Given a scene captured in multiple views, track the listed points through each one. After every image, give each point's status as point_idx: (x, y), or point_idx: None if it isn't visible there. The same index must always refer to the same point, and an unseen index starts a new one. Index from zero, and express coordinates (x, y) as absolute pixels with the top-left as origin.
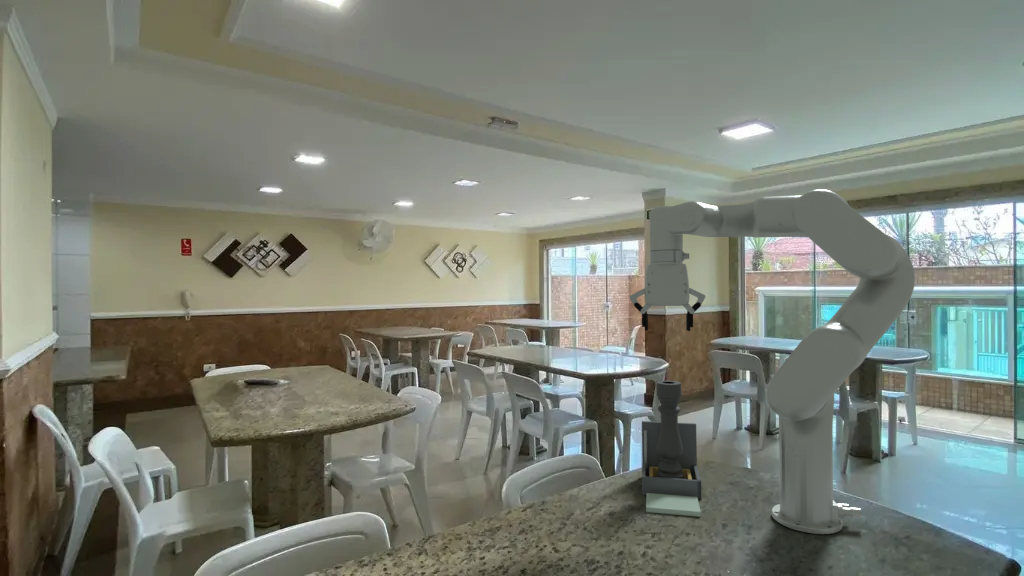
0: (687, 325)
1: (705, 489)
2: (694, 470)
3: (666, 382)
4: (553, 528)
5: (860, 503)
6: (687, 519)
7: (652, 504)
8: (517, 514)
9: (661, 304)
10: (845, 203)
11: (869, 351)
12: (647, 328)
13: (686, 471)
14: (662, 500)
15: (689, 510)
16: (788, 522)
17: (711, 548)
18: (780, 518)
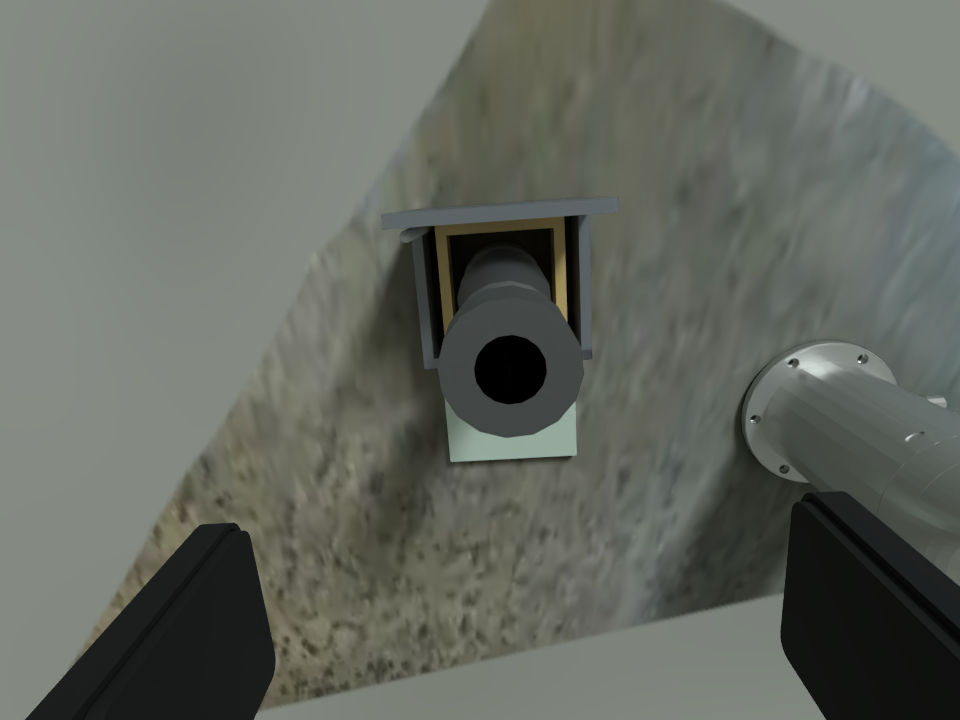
0: (822, 707)
1: (600, 268)
2: (578, 253)
3: (497, 367)
4: (277, 577)
5: None
6: (544, 470)
7: (464, 443)
8: (179, 538)
9: None
10: None
11: None
12: (263, 686)
13: (553, 227)
14: None
15: (551, 454)
16: (766, 466)
17: (585, 579)
18: (754, 450)
